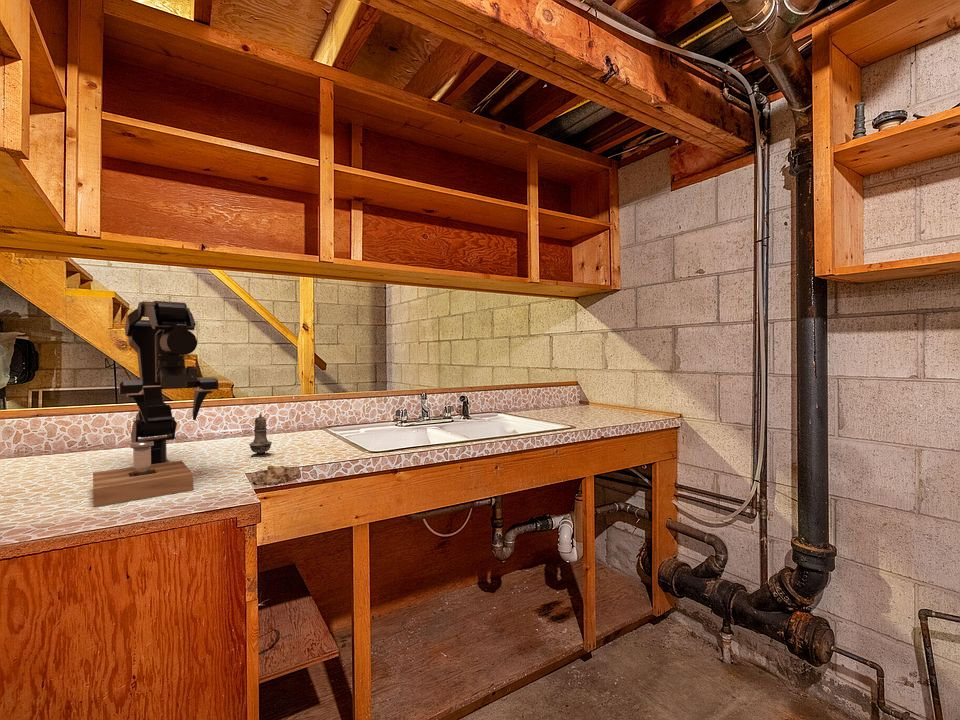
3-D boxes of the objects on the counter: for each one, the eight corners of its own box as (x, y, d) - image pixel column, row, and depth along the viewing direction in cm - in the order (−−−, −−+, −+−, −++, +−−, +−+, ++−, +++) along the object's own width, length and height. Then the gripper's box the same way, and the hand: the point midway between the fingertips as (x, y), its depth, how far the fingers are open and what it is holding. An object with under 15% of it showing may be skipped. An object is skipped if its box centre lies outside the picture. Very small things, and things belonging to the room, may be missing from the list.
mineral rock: (255, 479, 96) (248, 462, 102) (253, 497, 97) (246, 479, 103) (307, 472, 102) (297, 457, 108) (305, 489, 103) (295, 473, 109)
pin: (130, 489, 96) (129, 442, 96) (153, 485, 98) (152, 440, 98) (131, 493, 93) (130, 445, 93) (155, 489, 95) (154, 442, 95)
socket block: (93, 488, 96) (92, 472, 96) (181, 474, 107) (181, 460, 107) (93, 507, 84) (93, 488, 84) (193, 490, 95) (193, 473, 95)
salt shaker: (276, 455, 128) (276, 413, 128) (256, 459, 123) (256, 415, 123) (264, 452, 131) (264, 411, 131) (244, 456, 126) (244, 414, 126)
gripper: (120, 355, 92) (121, 431, 92) (223, 355, 104) (223, 421, 105) (118, 355, 101) (119, 424, 101) (213, 355, 113) (214, 416, 113)
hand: (171, 422), depth 105 cm, fingers open, 9 cm apart
